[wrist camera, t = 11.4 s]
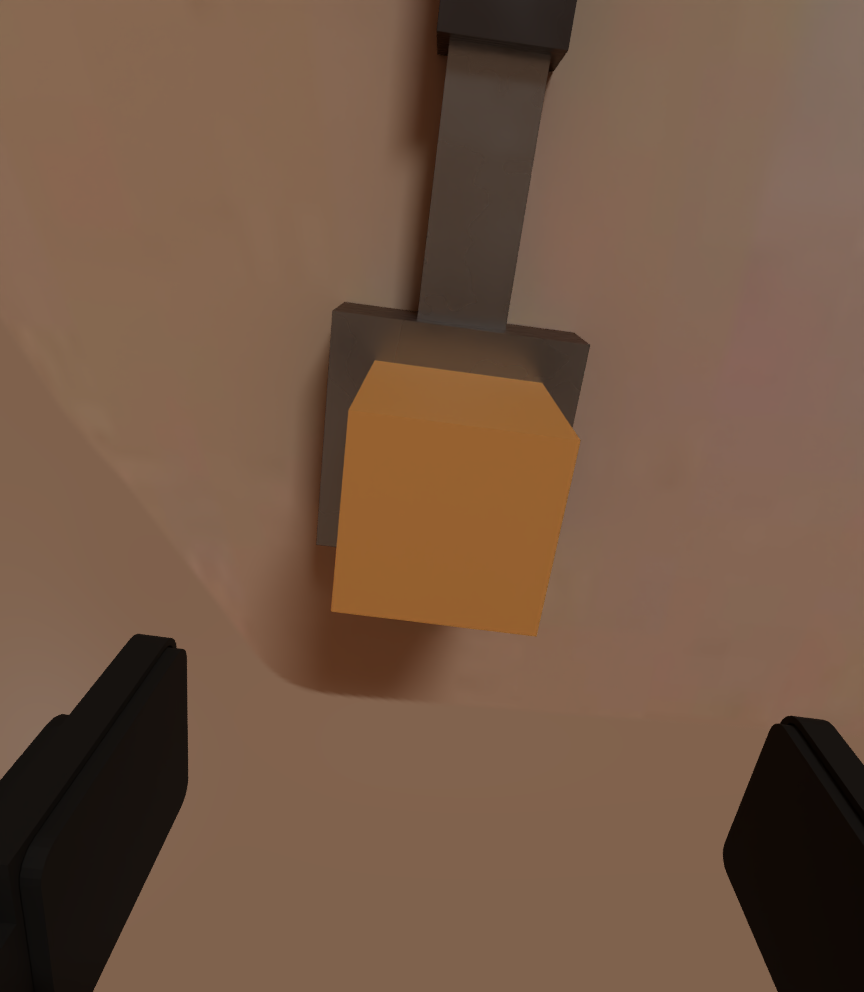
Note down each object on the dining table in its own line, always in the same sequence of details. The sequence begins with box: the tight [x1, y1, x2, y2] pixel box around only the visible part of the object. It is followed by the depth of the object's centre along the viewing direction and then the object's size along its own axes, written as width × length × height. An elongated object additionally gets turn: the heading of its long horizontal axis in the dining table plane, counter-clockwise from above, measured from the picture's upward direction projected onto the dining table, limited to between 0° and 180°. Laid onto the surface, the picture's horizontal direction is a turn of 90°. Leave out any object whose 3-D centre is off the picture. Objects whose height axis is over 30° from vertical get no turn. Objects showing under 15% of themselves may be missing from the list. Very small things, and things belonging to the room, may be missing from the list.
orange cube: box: [331, 360, 581, 636], centre depth 21 cm, size 6×6×7 cm
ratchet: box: [316, 0, 590, 547], centre depth 21 cm, size 29×9×6 cm, turn 173°
